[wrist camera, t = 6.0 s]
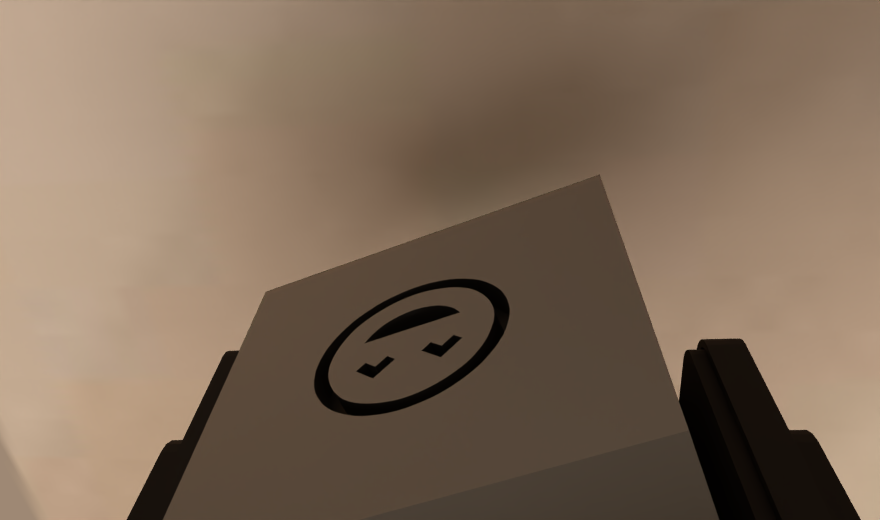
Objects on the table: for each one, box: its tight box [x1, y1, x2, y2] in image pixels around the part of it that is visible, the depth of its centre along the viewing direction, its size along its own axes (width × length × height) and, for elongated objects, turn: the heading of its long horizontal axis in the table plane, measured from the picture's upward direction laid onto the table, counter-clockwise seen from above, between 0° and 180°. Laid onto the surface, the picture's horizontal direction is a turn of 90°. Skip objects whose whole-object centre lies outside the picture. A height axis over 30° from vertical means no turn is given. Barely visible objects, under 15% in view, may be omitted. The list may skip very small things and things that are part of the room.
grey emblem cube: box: [163, 175, 719, 520], centre depth 10 cm, size 5×5×5 cm
